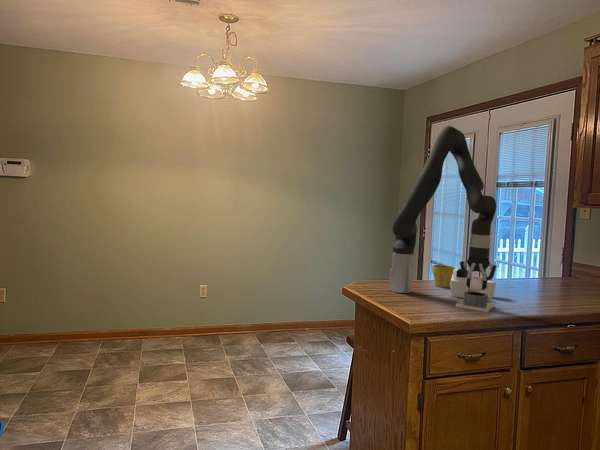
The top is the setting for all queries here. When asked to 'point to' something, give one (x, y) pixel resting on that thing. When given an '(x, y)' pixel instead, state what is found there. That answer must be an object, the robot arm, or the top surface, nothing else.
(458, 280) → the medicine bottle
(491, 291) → the white cylinder
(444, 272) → the plant pot
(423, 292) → the top surface
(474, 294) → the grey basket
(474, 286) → the cap
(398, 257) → the robot arm
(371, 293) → the top surface
